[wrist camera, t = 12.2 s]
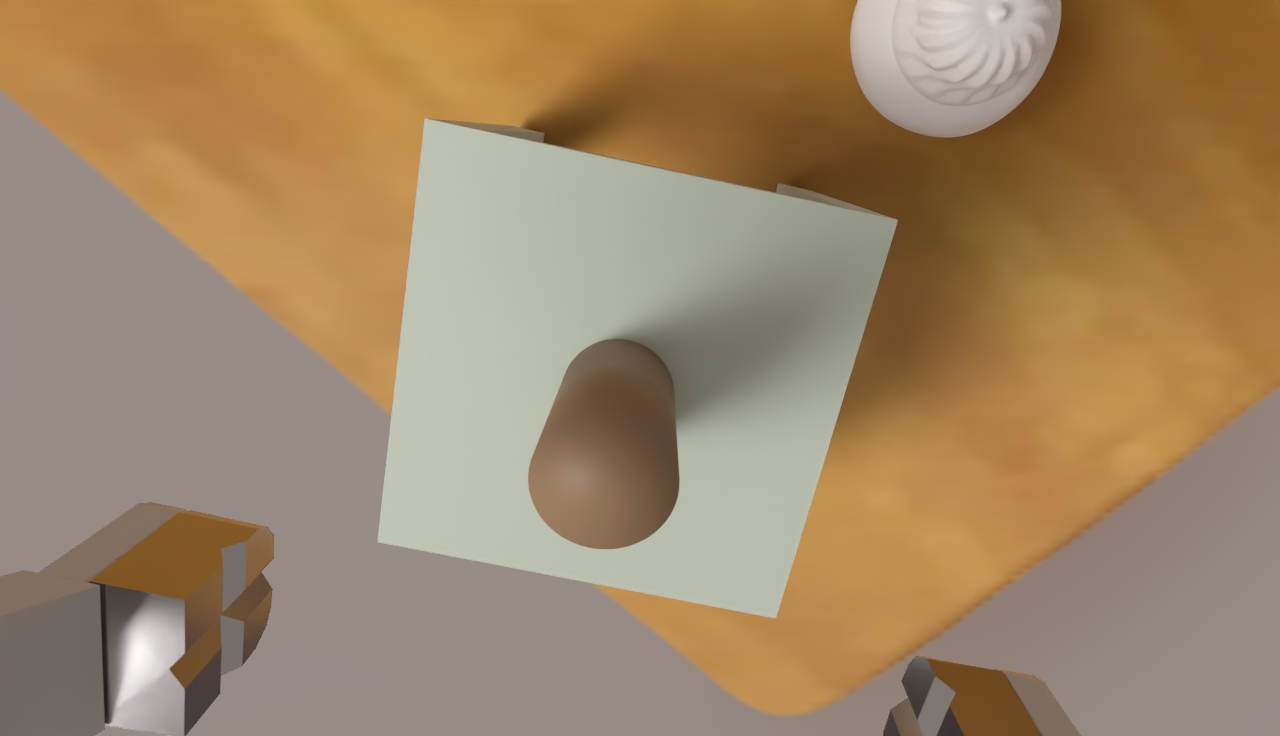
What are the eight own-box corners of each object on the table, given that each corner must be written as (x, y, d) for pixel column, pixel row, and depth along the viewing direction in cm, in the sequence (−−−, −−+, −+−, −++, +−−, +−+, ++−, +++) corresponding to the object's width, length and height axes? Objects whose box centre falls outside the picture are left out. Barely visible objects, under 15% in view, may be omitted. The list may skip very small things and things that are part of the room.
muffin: (810, -25, 25) (866, -84, 18) (993, -79, 25) (1118, -161, 18) (843, 158, 27) (905, 164, 20) (1014, 111, 26) (1136, 102, 20)
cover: (810, 190, 27) (991, 251, 12) (737, 461, 30) (811, 766, 15) (511, 125, 26) (330, 110, 12) (470, 408, 30) (288, 669, 15)
